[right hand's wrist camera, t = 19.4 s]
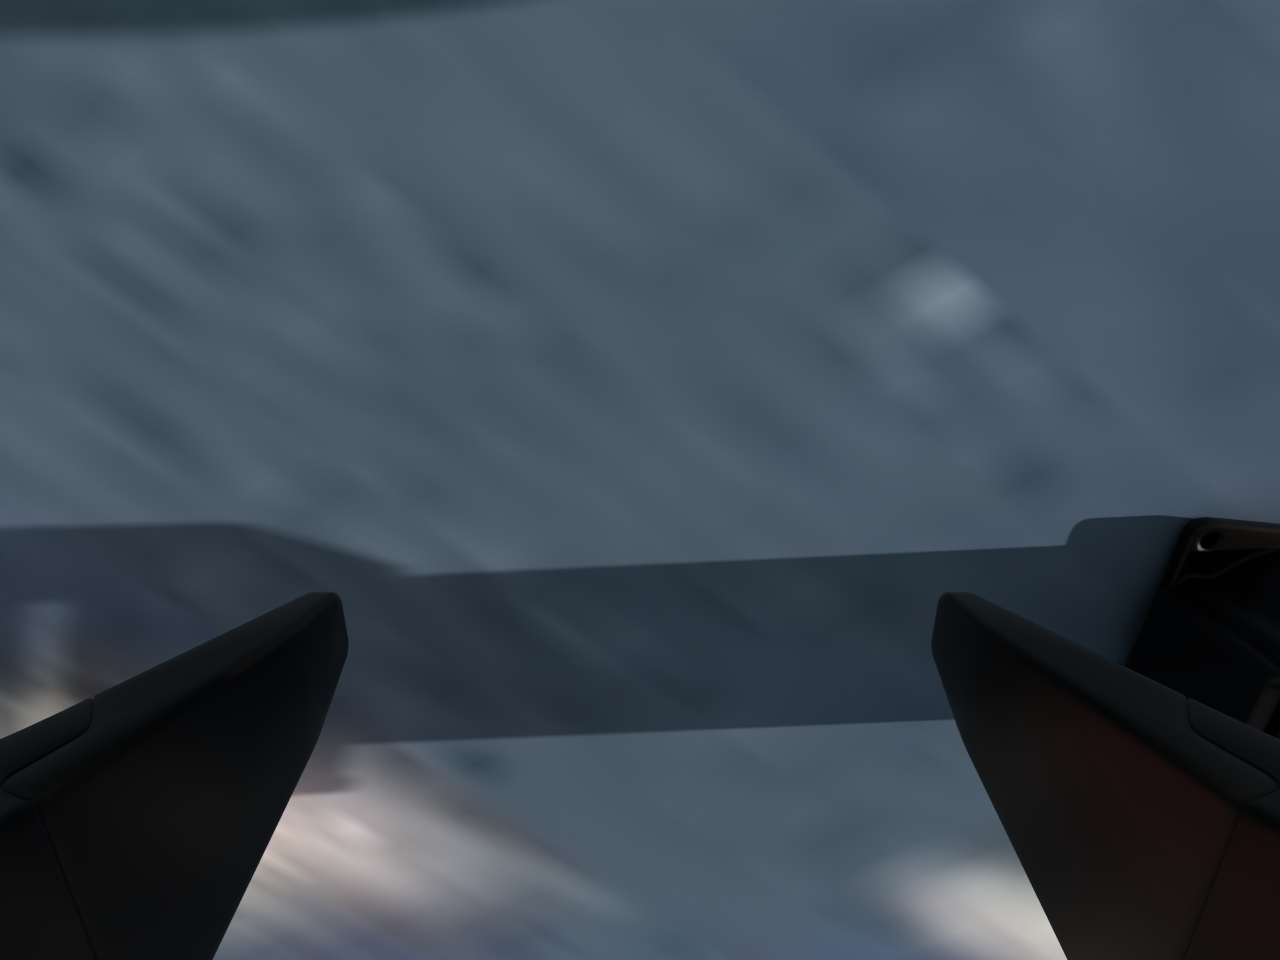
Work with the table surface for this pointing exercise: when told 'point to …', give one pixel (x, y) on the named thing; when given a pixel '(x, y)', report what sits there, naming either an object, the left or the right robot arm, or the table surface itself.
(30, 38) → the table surface
